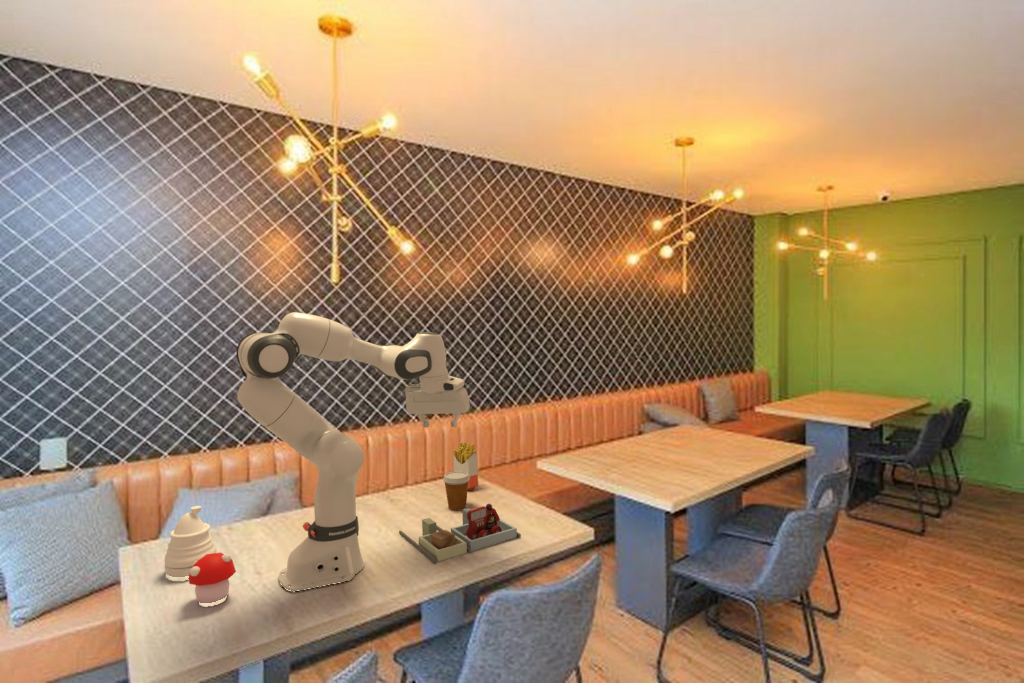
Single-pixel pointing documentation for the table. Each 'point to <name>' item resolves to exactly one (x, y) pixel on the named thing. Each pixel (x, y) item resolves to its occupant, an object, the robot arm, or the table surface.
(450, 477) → the disposable coffee cup
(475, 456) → the french fries container
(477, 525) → the toy fire truck
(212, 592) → the mushroom
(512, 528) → the grey open rectangular tray
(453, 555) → the cube lane
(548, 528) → the table surface
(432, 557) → the lane rails
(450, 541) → the walnut cube
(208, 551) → the honey pot
